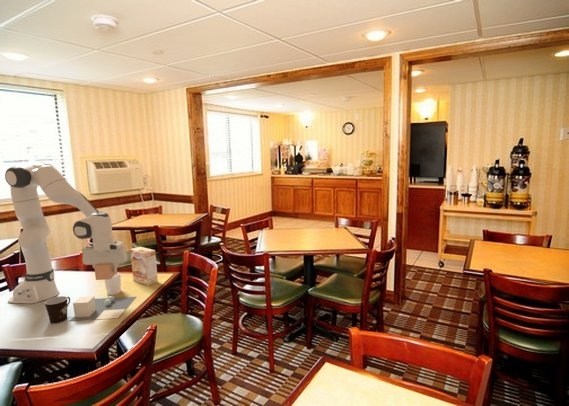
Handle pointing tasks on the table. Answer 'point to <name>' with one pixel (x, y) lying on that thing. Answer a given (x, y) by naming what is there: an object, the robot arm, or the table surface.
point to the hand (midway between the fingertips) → (106, 272)
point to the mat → (108, 309)
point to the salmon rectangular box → (104, 271)
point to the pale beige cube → (84, 306)
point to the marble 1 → (107, 302)
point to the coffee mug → (57, 309)
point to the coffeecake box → (144, 265)
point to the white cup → (113, 284)
